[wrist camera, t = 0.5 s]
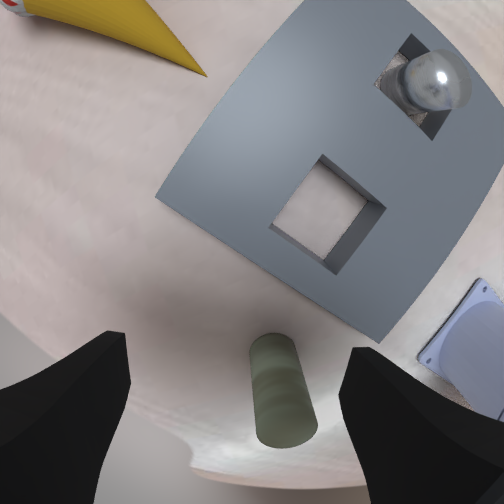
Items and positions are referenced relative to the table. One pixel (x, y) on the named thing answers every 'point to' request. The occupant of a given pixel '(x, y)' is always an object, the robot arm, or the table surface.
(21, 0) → the ice cream cone
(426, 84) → the grey metal pin
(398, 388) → the robot arm
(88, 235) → the table surface
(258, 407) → the sage green pin
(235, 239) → the pin board
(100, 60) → the table surface
